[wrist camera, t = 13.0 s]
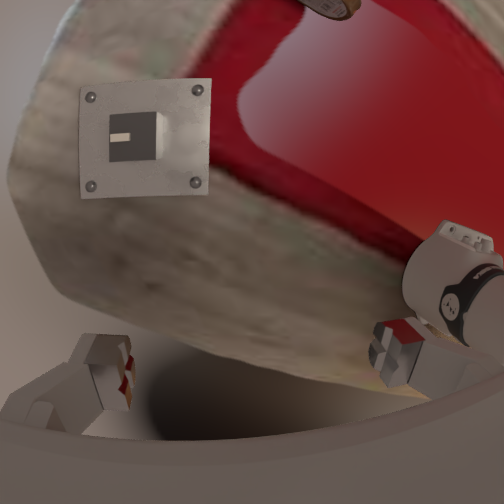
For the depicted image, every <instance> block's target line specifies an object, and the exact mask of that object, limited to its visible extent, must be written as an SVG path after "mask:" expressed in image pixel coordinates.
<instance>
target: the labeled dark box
mask: <svg viewBox="0 0 504 504" xmlns="http://www.w3.org/2000/svg"><path fill="white" fill-rule="evenodd" d="M162 137H163V115H161V114H160V113H158V112H157V111H155V112H137V113H123V114H112V115H110V116H109V162H123V161H143V160H157V159H160V158H162Z"/></svg>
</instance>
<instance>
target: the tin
mask: <svg viewBox="0 0 504 504" xmlns="http://www.w3.org/2000/svg"><path fill="white" fill-rule="evenodd" d="M297 1H299V2H300V3H302V4H304V5H305V6H307V7H308V8H310V9H311V10H313V11H315V12H316V13H318V14H320V15H322V16H324V17H326V18H329V19H332V20H337V21H343V20H347V19H349V18H351V17H352V16H353V14H354V13H355V12H356V10H358V9H359V8H360V6H361V0H297Z"/></svg>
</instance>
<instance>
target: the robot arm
mask: <svg viewBox="0 0 504 504" xmlns="http://www.w3.org/2000/svg"><path fill="white" fill-rule="evenodd" d="M450 228H451V229H450ZM402 292H403V297H404V300H405V302H406V304H407V305H408V306H409V307H410V308H411V309H412V310H414V311H415V313H416V315H417V318H418V320H417V319H416V318H415V317H407V318H401V319H397V320H390V321H384V322H377V323H376V325H375V327H374V331H373V334H374V336H375V339H374V340H373V341H372V342H371V343H370V347H369V351H368V352H369V360H370V363H371V365H372V366H373V368H374V369H376V370H378V371H380V378H381V379H382V381H383V382H384V383H385V385H386V386H387V387H388V388H390V387H395V386H400V385H404V384H408V385H409V386H411V387H412V388H414V389H416V390H417V391H419V392H421V393H422V394H424V395H426V396H427V397H429V398H431V399H432V401H429V402H426V403H423V404H420V405H416V406H413V407H410V408H406V409H403V410H400V411H396V412H392V413H389V414H386V415H381V416H378V417H373V418H369V419H365V420H361V421H356V422H352V423H348V424H343V425H337V426H332V427H327V428H322V429H316V430H310V431H304V432H297V433H291V434H283V435H275V436H266V437H256V438H245V439H232V440H213V441H151V440H132V439H131V440H130V439H118V438H105V437H98V436H89V435H81V433H82V432H83V431H84V430H85V429H86V428H87V427H88V426H89V425H90V424H91V423H92V422H93V421H94V420H95V419H96V418H97V417H98V416H99V415H100V414H101V413H102V412H103V410H113V411H129V410H130V405H131V400H132V393H131V389H132V388H133V387H134V385H135V378H136V376H135V375H136V370H135V362H134V358H133V357H132V356H131V355H130V351H131V343H130V338H129V337H128V336H127V335H107V334H86V333H85V334H82V336H81V337H80V339H79V341H78V343H77V345H76V347H75V349H74V351H73V353H72V355H71V357H70V359H69V361H68V363H66V362H65V363H64V362H63V363H62V364H60V365H58V366H56V367H55V368H53V369H51V370H50V371H48V372H46V373H45V374H43V375H41V376H40V377H38V378H36V379H35V380H33V381H31V382H30V383H28V384H26V385H24V386H23V387H21V388H20V389H18V390H16V391H14V392H13V393H11V394H10V395H9V397H8V399H7V401H6V402H5V404H4V406H3V408H2V409H1V412H0V504H504V270H503V260H502V257H501V255H499V254H497V253H495V252H494V251H493V239H492V238H491V237H490V236H488V235H486V234H483V233H481V232H478V231H476V230H473V229H470V228H468V227H465V226H462V225H460V224H457V223H454V222H451V221H449V220H443V221H442V222H441V223H440V224H439V226H438V227H437V229H436V230H435V232H434V233H433V234H432V235H431V236H430V237H429V238H428V239H426V240H425V241H424V242H422V243H421V244H420V245H419V247H418V248H417V249H416V250H415V252H414V253H413V255H412V256H411V258H410V260H409V262H408V264H407V266H406V269H405V272H404V276H403V282H402ZM428 323H429V324H431V325H432V326H434V327H435V328H436V329H438V330H439V331H441V332H442V333H443V334H445V335H446V336H451V335H453V336H454V338H455V339H456V340H457V341H459V342H460V343H462V344H463V345H465V346H463V345H460V344H458V343H455V342H452V341H449V340H446V339H444V338H441V337H440V338H437V337H436V336H435V335H434V334H433V333H432V332H430V331H429V330H428V329H427V328H426V327H425V326H424V325H423V324H428ZM466 346H467V347H466ZM469 347H471V348H469Z"/></svg>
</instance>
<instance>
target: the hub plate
mask: <svg viewBox="0 0 504 504" xmlns="http://www.w3.org/2000/svg"><path fill="white" fill-rule="evenodd" d="M210 102H211V78H191V79H159V80H142V81H130V82H119V83H110V84H101V85H93V86H86V87H81V92H80V113H79V169H80V191H81V199H94V198H113V197H137V196H172V195H208V181H209V132H210ZM155 111H157V112H158V113H160V114H161V115H163V137H162V158H160V159H157V160H143V161H123V162H109V116H110V115H112V114H123V113H137V112H155Z"/></svg>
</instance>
